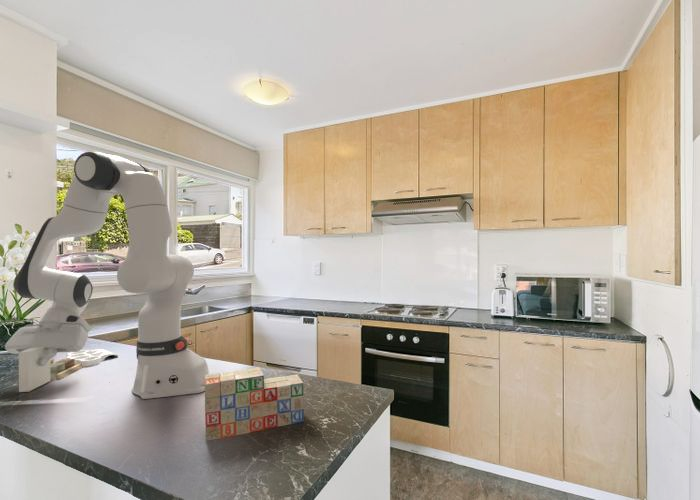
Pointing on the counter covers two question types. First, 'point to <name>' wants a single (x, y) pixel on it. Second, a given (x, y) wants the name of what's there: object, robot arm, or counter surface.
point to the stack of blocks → (250, 402)
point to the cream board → (32, 369)
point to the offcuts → (60, 367)
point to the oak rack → (66, 372)
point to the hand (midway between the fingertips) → (33, 365)
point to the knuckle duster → (89, 357)
